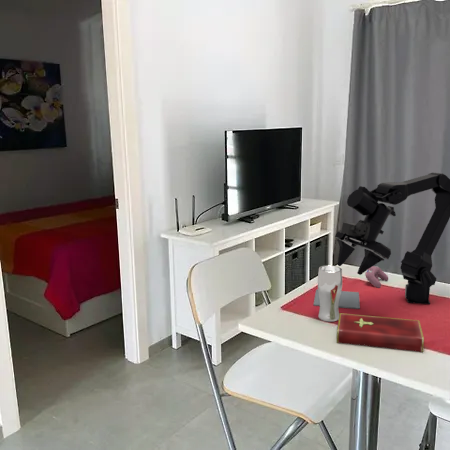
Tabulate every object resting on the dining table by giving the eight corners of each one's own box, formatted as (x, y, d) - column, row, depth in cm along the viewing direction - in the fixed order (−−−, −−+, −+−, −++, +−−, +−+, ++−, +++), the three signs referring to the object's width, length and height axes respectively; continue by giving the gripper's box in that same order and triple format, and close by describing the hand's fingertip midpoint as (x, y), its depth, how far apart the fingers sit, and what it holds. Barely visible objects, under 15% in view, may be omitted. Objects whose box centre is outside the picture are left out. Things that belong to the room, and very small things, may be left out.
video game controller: (378, 283, 177) (370, 265, 177) (390, 279, 174) (382, 261, 174) (369, 291, 169) (361, 272, 169) (381, 287, 166) (373, 268, 166)
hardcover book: (422, 354, 121) (424, 338, 120) (336, 344, 127) (337, 329, 126) (418, 333, 132) (419, 319, 131) (339, 326, 138) (339, 312, 137)
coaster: (358, 293, 162) (358, 292, 162) (359, 309, 149) (359, 307, 149) (316, 290, 165) (316, 289, 165) (313, 305, 152) (313, 304, 152)
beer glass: (341, 323, 139) (343, 273, 136) (316, 321, 140) (317, 271, 137) (340, 313, 145) (342, 265, 142) (316, 312, 147) (318, 264, 144)
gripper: (335, 205, 146) (310, 250, 146) (377, 215, 130) (350, 267, 129) (359, 221, 151) (336, 265, 151) (403, 233, 135) (377, 283, 134)
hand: (348, 269), depth 141 cm, fingers open, 9 cm apart
